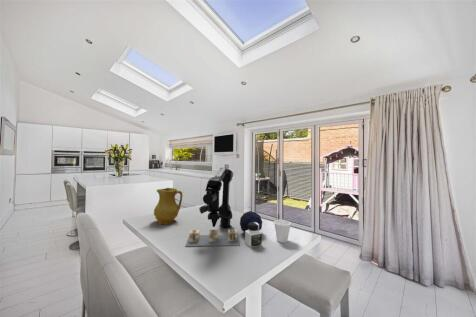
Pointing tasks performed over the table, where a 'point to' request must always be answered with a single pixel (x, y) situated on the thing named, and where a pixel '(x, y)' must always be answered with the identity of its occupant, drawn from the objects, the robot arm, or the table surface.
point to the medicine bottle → (253, 235)
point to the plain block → (213, 236)
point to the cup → (282, 230)
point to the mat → (205, 242)
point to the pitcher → (167, 206)
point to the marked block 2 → (232, 235)
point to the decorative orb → (250, 220)
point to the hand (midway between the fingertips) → (213, 226)
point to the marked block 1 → (194, 236)
